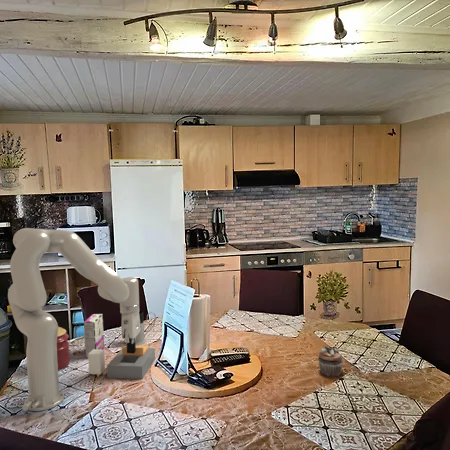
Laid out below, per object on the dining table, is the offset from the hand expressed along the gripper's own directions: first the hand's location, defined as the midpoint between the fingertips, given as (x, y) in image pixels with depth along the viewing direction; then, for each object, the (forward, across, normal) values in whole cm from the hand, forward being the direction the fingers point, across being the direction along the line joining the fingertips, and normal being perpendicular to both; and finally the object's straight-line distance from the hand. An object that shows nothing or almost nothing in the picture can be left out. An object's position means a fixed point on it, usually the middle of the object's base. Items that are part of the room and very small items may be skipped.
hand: (131, 352), depth 163 cm
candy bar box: (+7, +15, +22) cm, 28 cm away
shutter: (+2, +6, 0) cm, 6 cm away
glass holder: (+7, +30, +5) cm, 31 cm away
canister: (+7, +1, +34) cm, 35 cm away
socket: (+7, +1, 0) cm, 7 cm away
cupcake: (+8, +3, -80) cm, 80 cm away
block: (+7, -6, +12) cm, 15 cm away
